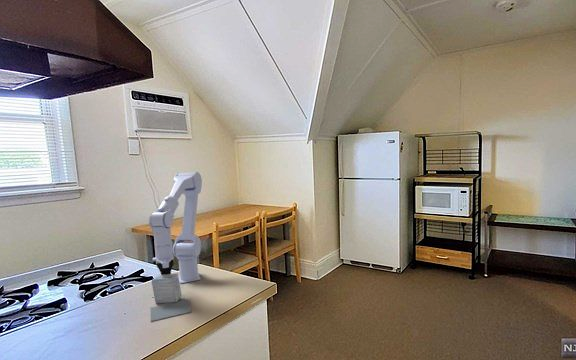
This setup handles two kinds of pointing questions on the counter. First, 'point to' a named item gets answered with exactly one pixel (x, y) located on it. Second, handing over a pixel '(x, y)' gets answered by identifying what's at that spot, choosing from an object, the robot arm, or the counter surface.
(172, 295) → the medicine box
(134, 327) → the counter surface
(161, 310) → the slate mat
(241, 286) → the counter surface
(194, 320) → the counter surface
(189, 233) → the robot arm
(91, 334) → the counter surface
